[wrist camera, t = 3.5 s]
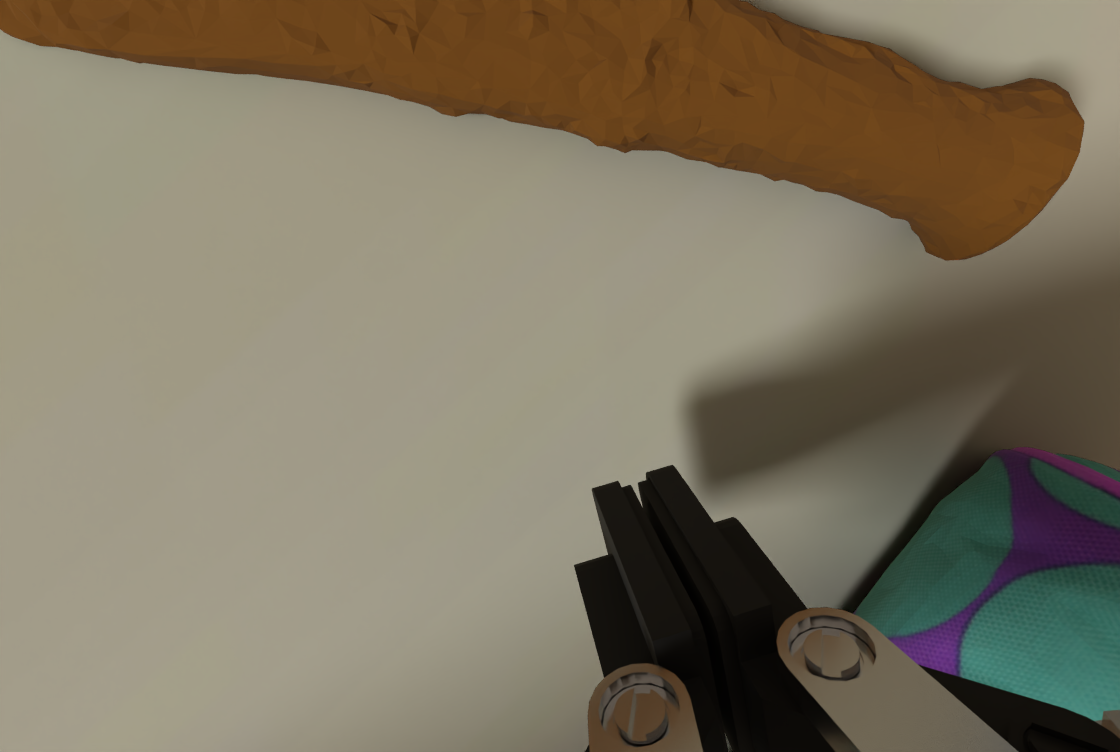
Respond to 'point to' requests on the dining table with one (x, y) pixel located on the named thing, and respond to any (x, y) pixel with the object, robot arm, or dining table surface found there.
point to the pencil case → (1015, 582)
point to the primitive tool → (641, 89)
